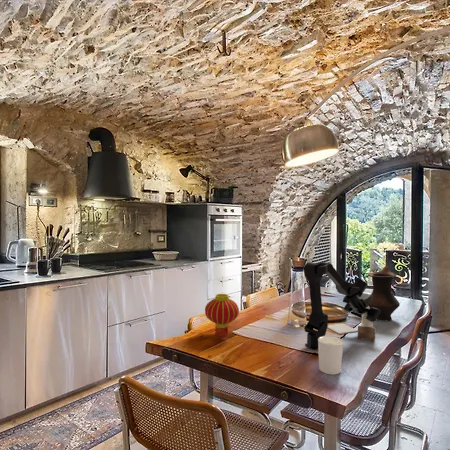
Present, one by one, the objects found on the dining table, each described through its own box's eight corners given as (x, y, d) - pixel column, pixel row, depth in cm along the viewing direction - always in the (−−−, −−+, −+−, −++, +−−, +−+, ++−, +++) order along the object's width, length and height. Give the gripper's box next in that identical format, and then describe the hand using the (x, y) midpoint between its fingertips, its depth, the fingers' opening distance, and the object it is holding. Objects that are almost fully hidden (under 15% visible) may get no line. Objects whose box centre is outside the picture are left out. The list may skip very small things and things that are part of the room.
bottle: (361, 331, 186) (362, 306, 186) (372, 333, 184) (373, 307, 184) (360, 334, 181) (361, 308, 181) (372, 336, 179) (373, 310, 179)
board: (339, 334, 182) (339, 333, 182) (325, 326, 193) (325, 325, 193) (358, 331, 186) (358, 330, 186) (343, 324, 197) (343, 323, 197)
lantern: (241, 330, 185) (242, 273, 183) (233, 342, 168) (234, 280, 166) (210, 327, 189) (211, 271, 188) (199, 338, 173) (200, 277, 171)
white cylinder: (337, 364, 146) (338, 336, 146) (346, 375, 137) (347, 345, 136) (314, 364, 146) (314, 335, 146) (321, 375, 136) (322, 345, 136)
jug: (395, 326, 196) (397, 272, 194) (360, 319, 207) (362, 268, 205) (403, 317, 212) (405, 267, 211) (370, 311, 224) (372, 264, 222)
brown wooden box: (357, 338, 176) (357, 326, 176) (357, 336, 179) (358, 324, 179) (374, 341, 173) (375, 329, 173) (374, 338, 176) (375, 327, 176)
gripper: (379, 293, 172) (392, 312, 178) (348, 285, 188) (361, 303, 194) (367, 311, 168) (381, 330, 174) (337, 301, 184) (351, 319, 190)
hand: (368, 320), depth 183 cm, fingers closed on bottle, 5 cm apart
